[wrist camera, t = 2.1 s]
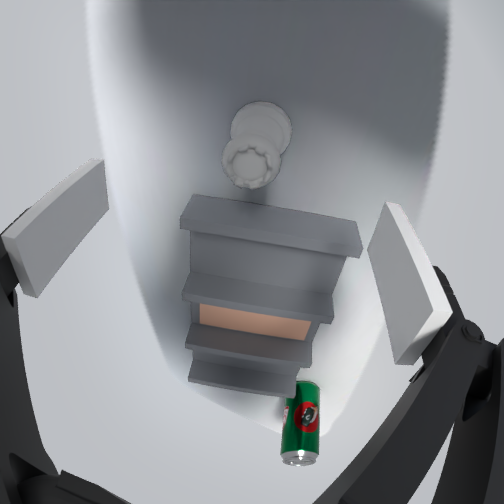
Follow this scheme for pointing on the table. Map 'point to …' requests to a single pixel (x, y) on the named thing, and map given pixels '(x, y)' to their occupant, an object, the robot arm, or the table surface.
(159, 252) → the table surface
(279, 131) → the rook chess piece
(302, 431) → the soda can
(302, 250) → the stepped slat stand
